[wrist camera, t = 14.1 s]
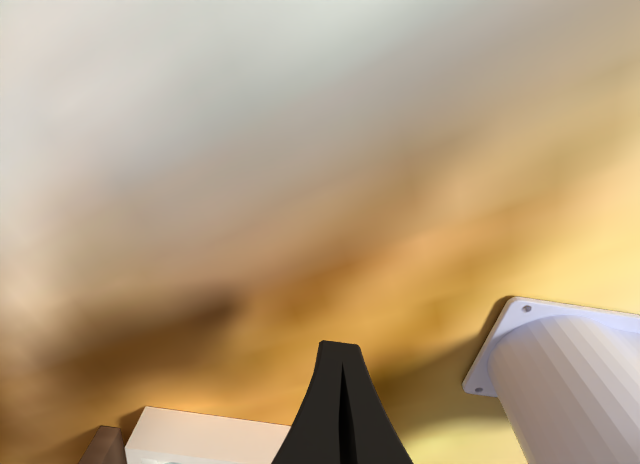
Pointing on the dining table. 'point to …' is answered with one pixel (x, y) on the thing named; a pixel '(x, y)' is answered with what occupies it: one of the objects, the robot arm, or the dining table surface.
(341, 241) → the dining table surface
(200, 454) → the white tray
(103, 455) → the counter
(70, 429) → the dining table surface
